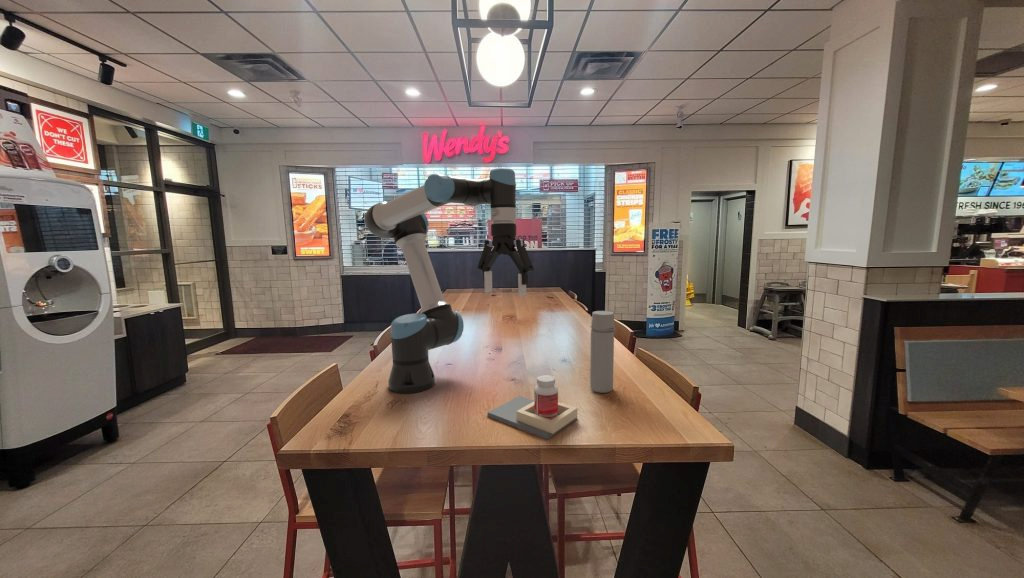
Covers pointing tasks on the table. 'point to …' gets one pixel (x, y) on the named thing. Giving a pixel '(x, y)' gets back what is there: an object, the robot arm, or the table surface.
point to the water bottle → (602, 351)
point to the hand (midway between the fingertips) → (504, 293)
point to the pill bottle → (546, 397)
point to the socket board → (533, 417)
